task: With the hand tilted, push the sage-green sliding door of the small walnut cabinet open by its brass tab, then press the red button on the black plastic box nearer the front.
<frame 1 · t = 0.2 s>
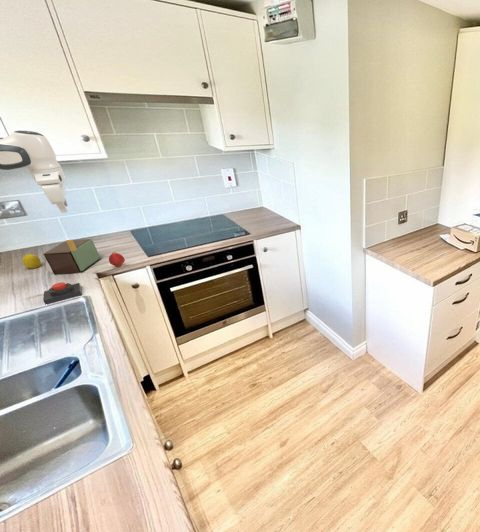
hand: (64, 209, 133), 33 cm above the worktop, tool pointing down, fingers open, 8 cm apart
button box: (64, 295, 135), on the worktop
button: (59, 286, 133), point 4 cm above the worktop, slide at 0.1 cm
onion: (119, 266, 159), on the worktop
cabinet: (78, 266, 158), on the worktop
lemon: (36, 269, 155), on the worktop
sliding door: (85, 250, 155), point 8 cm above the worktop, slide at 0.0 cm
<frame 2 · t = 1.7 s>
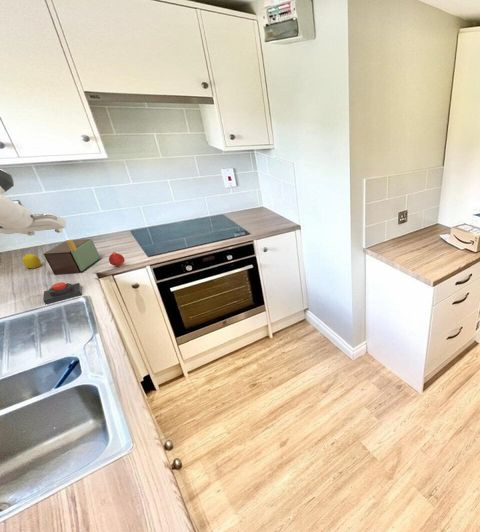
hand: (46, 232, 135), 24 cm above the worktop, tool tilted 45°, fingers open, 8 cm apart
nothing on the worktop moved.
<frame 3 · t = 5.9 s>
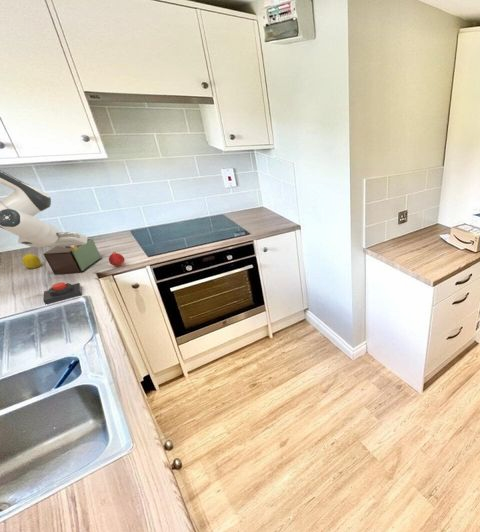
hand: (70, 246, 147), 14 cm above the worktop, tool tilted 45°, fingers closed, pressing on sliding door
sliding door: (85, 249, 156), point 8 cm above the worktop, slide at 0.5 cm, touching gripper
everything else where it was.
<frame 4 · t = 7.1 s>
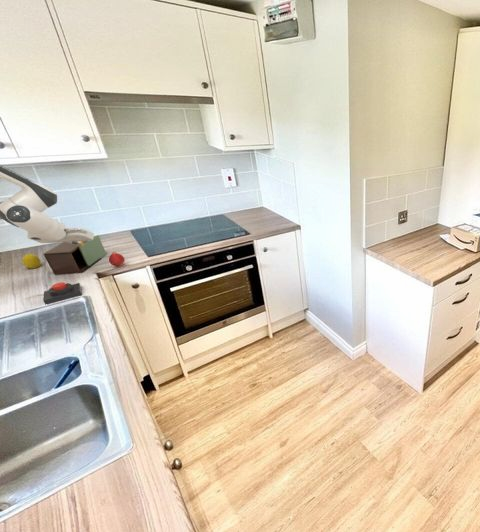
hand: (77, 242, 151), 14 cm above the worktop, tool tilted 45°, fingers closed, pressing on sliding door
sliding door: (91, 245, 160), point 8 cm above the worktop, slide at 5.3 cm, touching gripper
everything else where it was.
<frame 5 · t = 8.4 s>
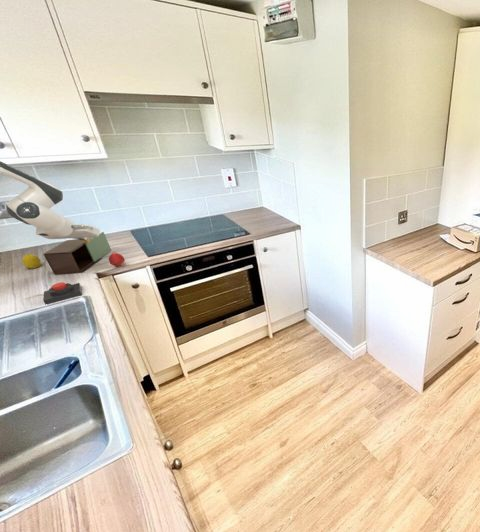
hand: (83, 238, 155), 13 cm above the worktop, tool tilted 45°, fingers closed, pressing on sliding door
sliding door: (97, 242, 164), point 8 cm above the worktop, slide at 10.0 cm, touching gripper
everything else where it was.
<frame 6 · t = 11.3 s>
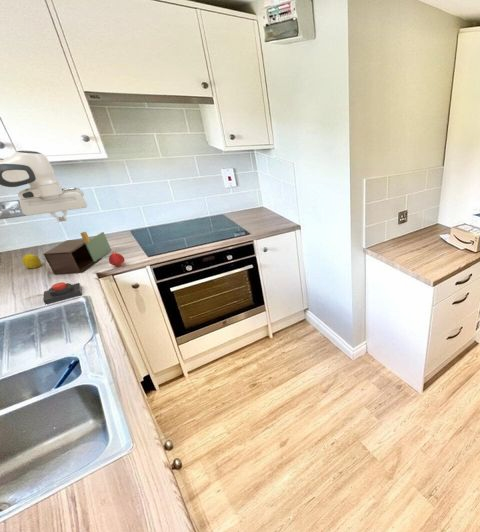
hand: (62, 220, 144), 25 cm above the worktop, tool pointing down, fingers closed
sliding door: (97, 242, 164), point 8 cm above the worktop, slide at 10.0 cm
everything else where it was.
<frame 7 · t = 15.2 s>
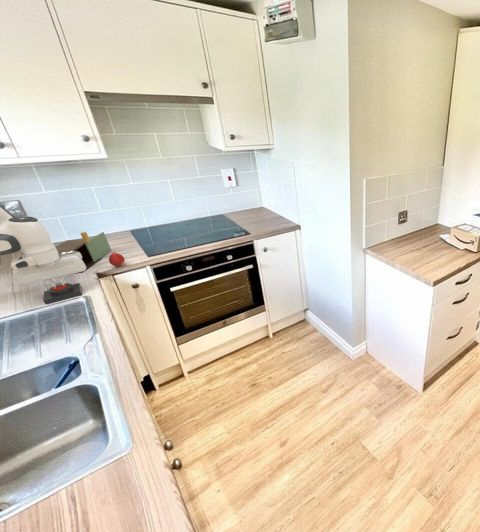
hand: (59, 286, 133), 4 cm above the worktop, tool pointing down, fingers closed, pressing on button
button: (60, 288, 133), point 4 cm above the worktop, slide at -0.8 cm, touching gripper
everything else where it was.
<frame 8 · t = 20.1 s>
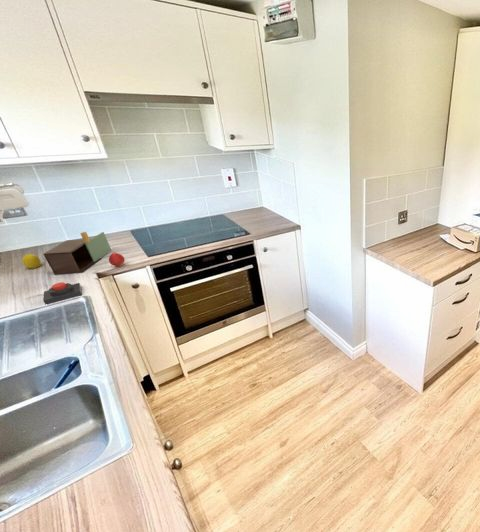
button: (59, 286, 133), point 4 cm above the worktop, slide at 0.1 cm
everything else where it was.
at the end: sliding door slide at 10.0 cm; button pushed in 1.0 cm at the most during the clip, back to where it started at the end; button slide at 0.1 cm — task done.
